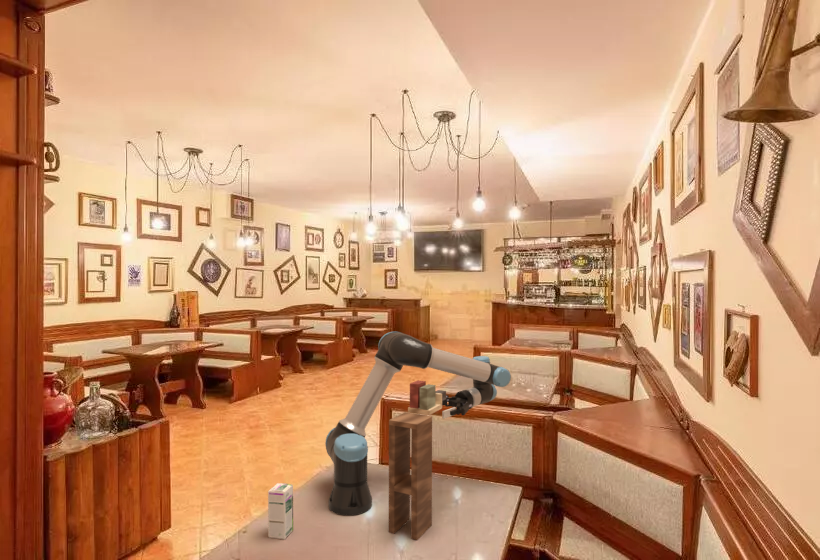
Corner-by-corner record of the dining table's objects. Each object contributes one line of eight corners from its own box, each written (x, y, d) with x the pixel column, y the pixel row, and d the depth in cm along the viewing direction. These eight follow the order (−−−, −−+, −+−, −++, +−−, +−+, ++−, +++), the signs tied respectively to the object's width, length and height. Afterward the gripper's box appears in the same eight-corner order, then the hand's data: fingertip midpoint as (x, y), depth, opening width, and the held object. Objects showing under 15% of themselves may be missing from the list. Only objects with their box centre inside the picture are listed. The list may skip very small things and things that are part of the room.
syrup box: (285, 539, 143) (285, 491, 143) (267, 537, 144) (267, 489, 144) (293, 530, 148) (294, 484, 149) (276, 528, 149) (276, 482, 150)
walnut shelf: (388, 532, 147) (389, 420, 148) (404, 518, 156) (405, 412, 157) (416, 540, 143) (417, 424, 143) (431, 525, 152) (432, 416, 152)
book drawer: (408, 411, 157) (408, 383, 157) (432, 400, 174) (432, 374, 174) (429, 415, 153) (429, 385, 153) (452, 402, 170) (452, 376, 170)
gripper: (491, 414, 183) (454, 428, 169) (445, 401, 202) (408, 413, 188) (491, 395, 183) (454, 408, 169) (445, 384, 201) (408, 394, 187)
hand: (430, 411), depth 178 cm, fingers open, 13 cm apart
